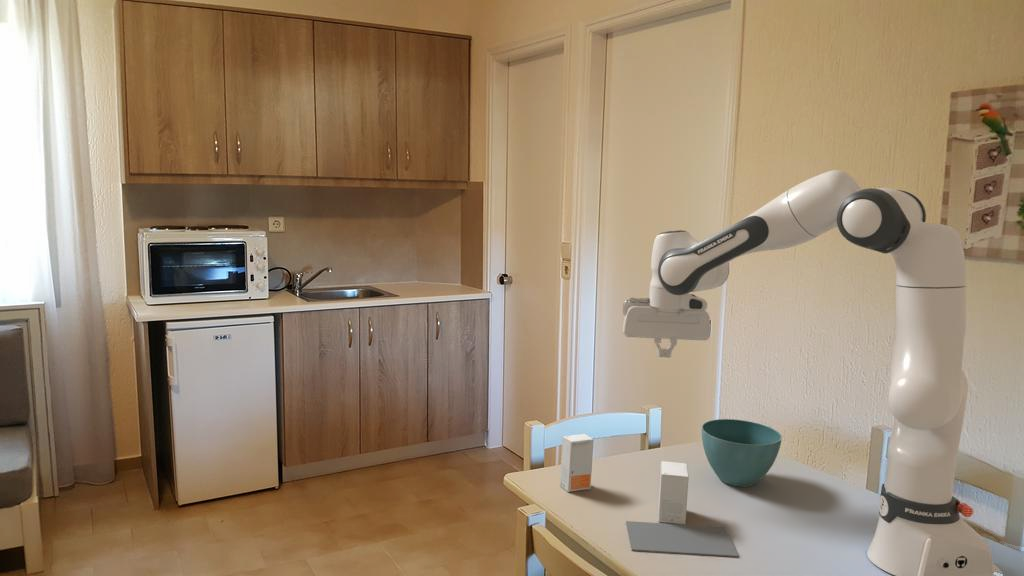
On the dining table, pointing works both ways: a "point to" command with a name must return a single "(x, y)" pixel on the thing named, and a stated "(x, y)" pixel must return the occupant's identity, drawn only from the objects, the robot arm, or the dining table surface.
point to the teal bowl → (740, 450)
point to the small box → (673, 492)
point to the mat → (680, 539)
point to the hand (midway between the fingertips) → (664, 356)
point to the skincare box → (576, 462)
